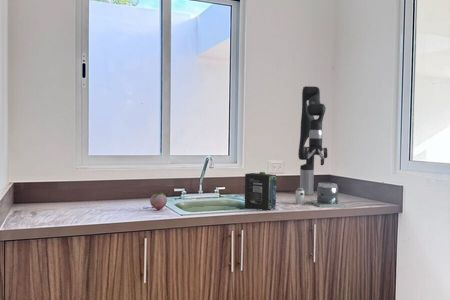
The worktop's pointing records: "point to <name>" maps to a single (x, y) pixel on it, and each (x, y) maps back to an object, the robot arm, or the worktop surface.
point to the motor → (327, 196)
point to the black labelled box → (260, 191)
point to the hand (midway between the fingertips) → (315, 165)
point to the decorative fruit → (158, 201)
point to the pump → (299, 196)
